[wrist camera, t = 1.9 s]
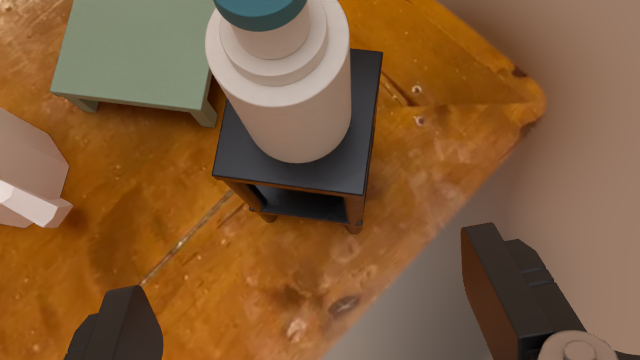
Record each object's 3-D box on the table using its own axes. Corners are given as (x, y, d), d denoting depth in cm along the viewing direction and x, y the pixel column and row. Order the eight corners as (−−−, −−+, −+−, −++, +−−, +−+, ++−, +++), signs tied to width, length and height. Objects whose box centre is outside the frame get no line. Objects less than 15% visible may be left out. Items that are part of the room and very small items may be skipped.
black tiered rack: (374, 138, 46) (383, 51, 30) (361, 235, 44) (363, 195, 29) (277, 126, 47) (238, 35, 31) (261, 221, 45) (211, 175, 29)
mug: (-49, 197, 47) (-153, 168, 38) (13, 112, 48) (-71, 64, 39) (62, 272, 45) (-17, 263, 36) (124, 182, 46) (64, 150, 37)
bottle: (358, 69, 30) (359, -103, 18) (343, 170, 29) (333, 63, 16) (255, 58, 31) (185, -117, 18) (237, 156, 30) (148, 42, 17)
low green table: (242, 0, 49) (229, -33, 45) (216, 130, 47) (200, 109, 42) (111, -13, 51) (85, -48, 46) (80, 113, 48) (49, 91, 43)
